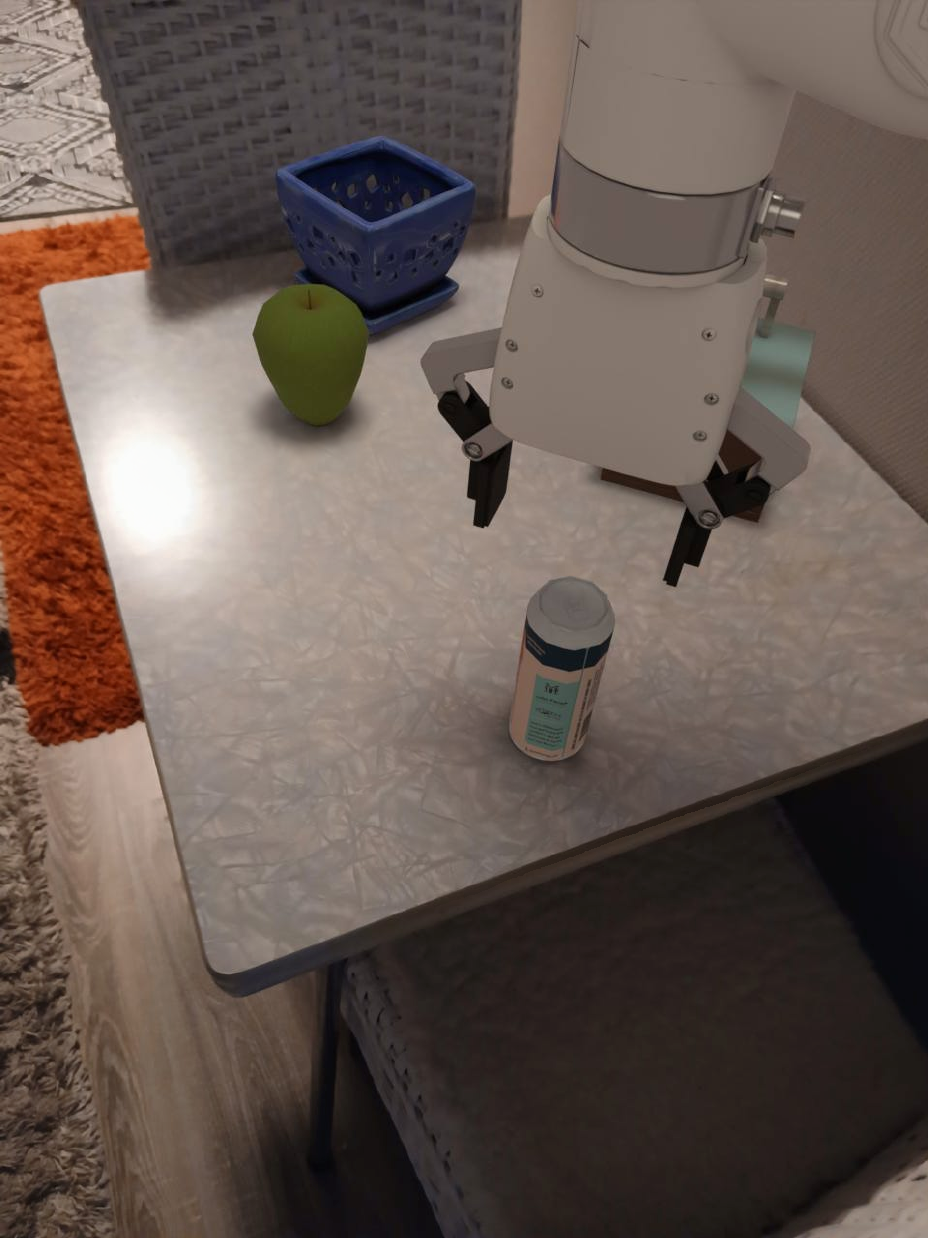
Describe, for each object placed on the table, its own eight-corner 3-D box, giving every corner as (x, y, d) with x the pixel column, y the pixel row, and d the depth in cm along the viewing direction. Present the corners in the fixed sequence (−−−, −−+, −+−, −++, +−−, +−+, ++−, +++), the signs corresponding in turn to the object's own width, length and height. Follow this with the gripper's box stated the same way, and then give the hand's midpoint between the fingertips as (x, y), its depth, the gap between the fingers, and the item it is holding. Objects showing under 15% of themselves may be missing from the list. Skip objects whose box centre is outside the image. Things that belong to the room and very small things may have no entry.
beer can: (567, 695, 63) (596, 563, 54) (596, 755, 60) (633, 625, 51) (497, 712, 61) (515, 579, 53) (523, 773, 58) (548, 644, 50)
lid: (660, 303, 81) (675, 238, 77) (812, 339, 78) (836, 274, 74) (617, 396, 71) (631, 328, 67) (788, 440, 69) (814, 373, 65)
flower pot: (475, 305, 94) (484, 181, 85) (370, 355, 87) (368, 226, 78) (383, 251, 99) (382, 130, 91) (278, 294, 93) (267, 168, 84)
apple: (243, 427, 79) (225, 298, 71) (302, 376, 84) (292, 250, 76) (334, 463, 77) (326, 334, 68) (389, 408, 82) (388, 282, 73)
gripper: (901, 209, 36) (764, 540, 49) (468, 113, 39) (445, 447, 52) (887, 306, 32) (739, 645, 44) (395, 188, 35) (390, 536, 48)
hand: (580, 538), depth 48 cm, fingers open, 9 cm apart
